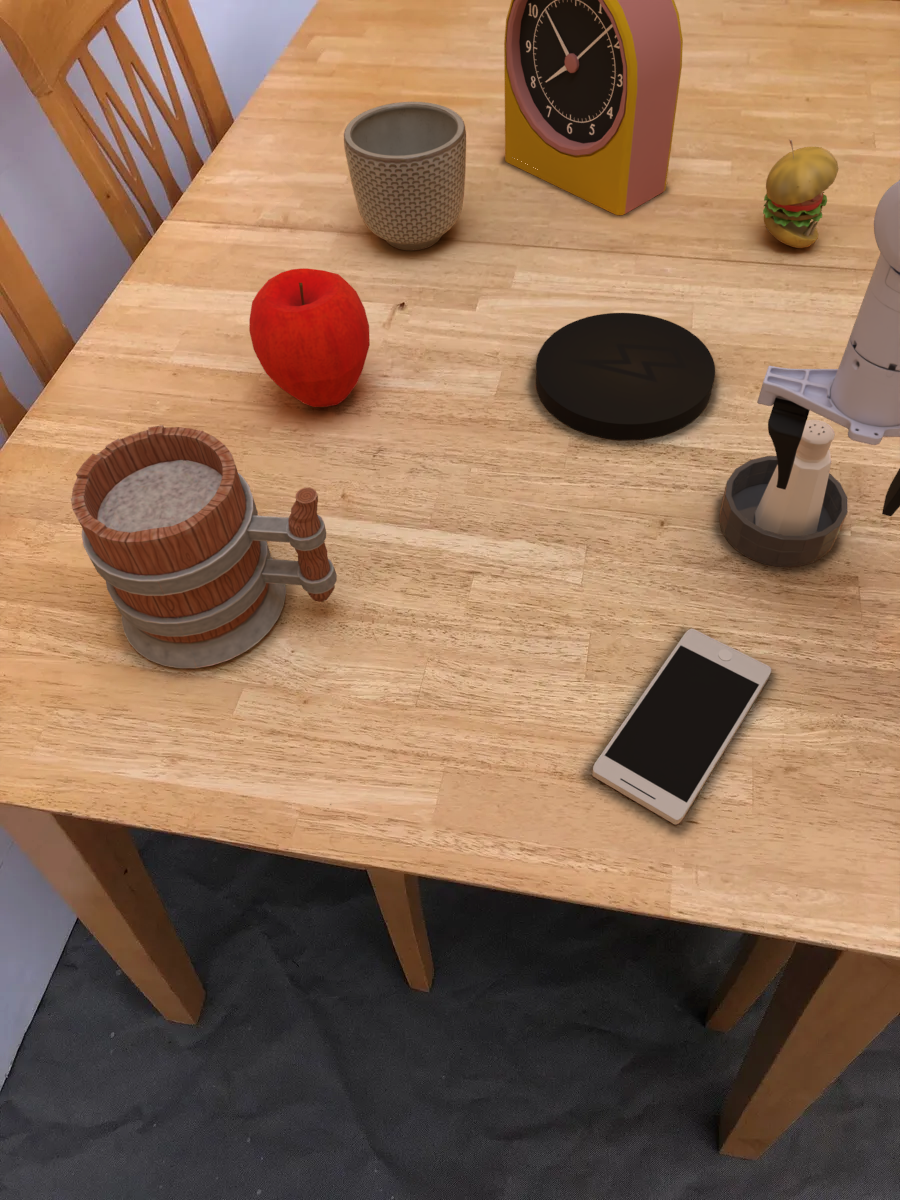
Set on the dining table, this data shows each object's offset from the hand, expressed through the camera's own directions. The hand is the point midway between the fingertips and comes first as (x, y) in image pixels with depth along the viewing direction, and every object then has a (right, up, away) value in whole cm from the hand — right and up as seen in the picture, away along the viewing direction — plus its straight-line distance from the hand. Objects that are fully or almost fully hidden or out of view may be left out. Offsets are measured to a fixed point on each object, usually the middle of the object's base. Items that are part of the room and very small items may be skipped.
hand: (835, 492), depth 69 cm
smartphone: (-11, -17, 0) cm, 21 cm away
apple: (-42, +13, +27) cm, 52 cm away
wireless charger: (-11, +14, +25) cm, 31 cm away
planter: (-33, +37, +45) cm, 67 cm away
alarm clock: (-12, +48, +52) cm, 71 cm away
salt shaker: (0, -2, +11) cm, 12 cm away
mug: (-47, -9, +10) cm, 49 cm away
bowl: (0, -1, +12) cm, 12 cm away
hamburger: (+11, +34, +39) cm, 53 cm away
